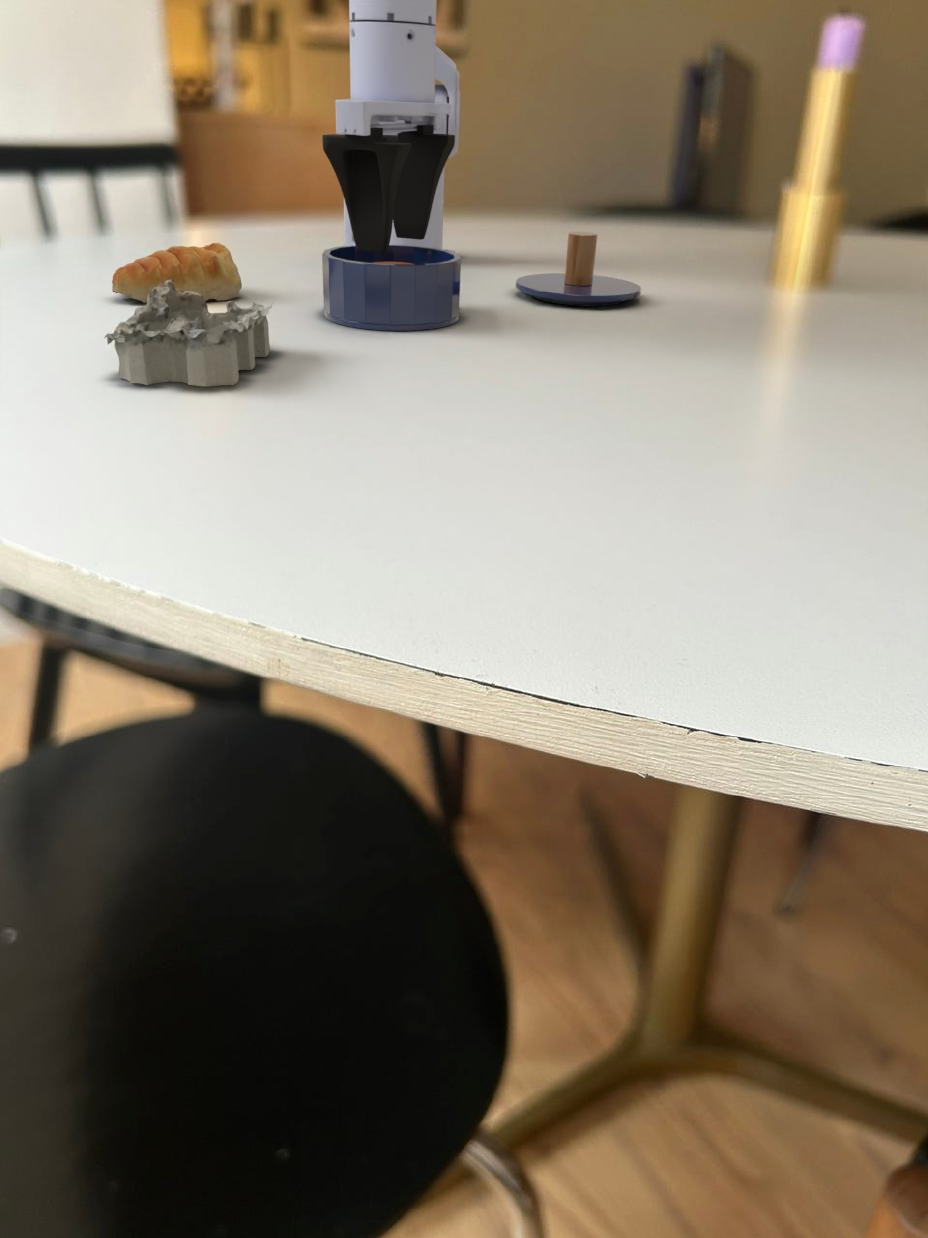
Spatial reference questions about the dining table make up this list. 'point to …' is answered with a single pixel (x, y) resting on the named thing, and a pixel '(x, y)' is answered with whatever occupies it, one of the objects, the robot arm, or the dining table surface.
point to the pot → (391, 287)
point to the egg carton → (189, 340)
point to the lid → (579, 279)
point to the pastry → (181, 273)
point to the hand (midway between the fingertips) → (392, 244)
